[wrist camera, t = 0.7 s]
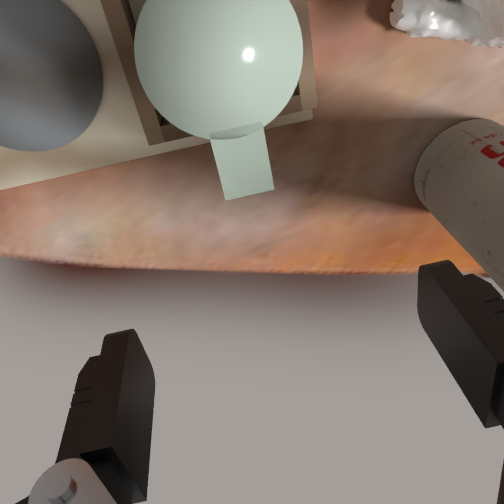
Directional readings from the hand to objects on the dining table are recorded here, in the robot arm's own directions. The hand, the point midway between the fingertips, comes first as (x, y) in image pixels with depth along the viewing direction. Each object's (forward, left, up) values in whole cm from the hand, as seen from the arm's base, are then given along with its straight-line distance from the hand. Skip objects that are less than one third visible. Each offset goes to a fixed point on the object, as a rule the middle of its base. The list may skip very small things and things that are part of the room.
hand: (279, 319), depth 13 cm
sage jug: (-3, 0, -21) cm, 21 cm away
